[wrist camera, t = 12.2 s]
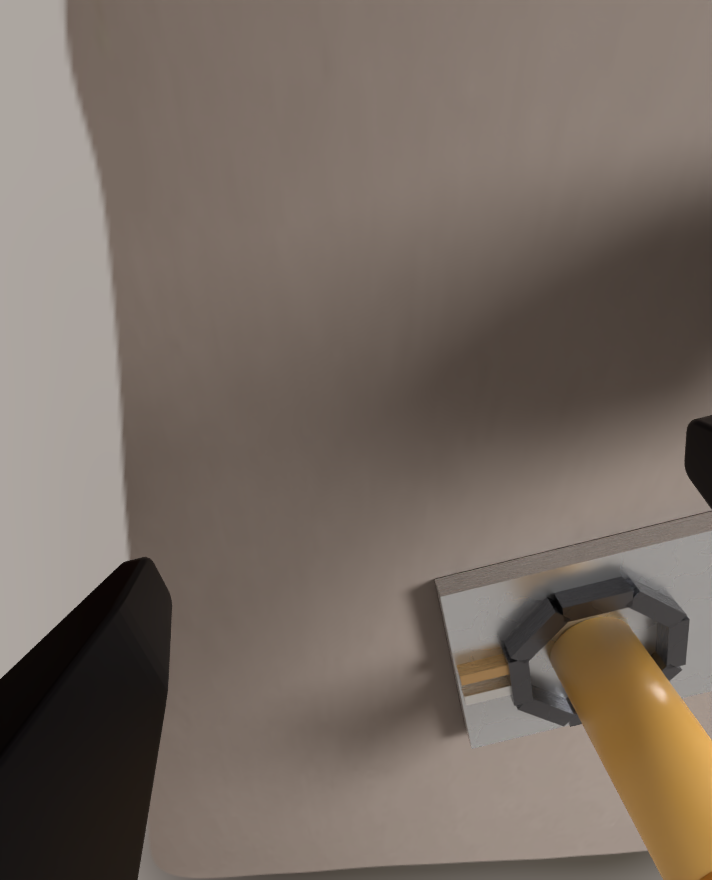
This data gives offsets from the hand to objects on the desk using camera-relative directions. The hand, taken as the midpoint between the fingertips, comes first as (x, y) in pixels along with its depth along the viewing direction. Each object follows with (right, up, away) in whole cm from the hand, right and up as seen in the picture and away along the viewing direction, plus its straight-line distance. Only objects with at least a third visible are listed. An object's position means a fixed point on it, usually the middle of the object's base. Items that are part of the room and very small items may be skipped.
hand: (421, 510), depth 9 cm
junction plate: (+11, -9, +21) cm, 25 cm away
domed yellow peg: (+11, -10, +20) cm, 25 cm away
